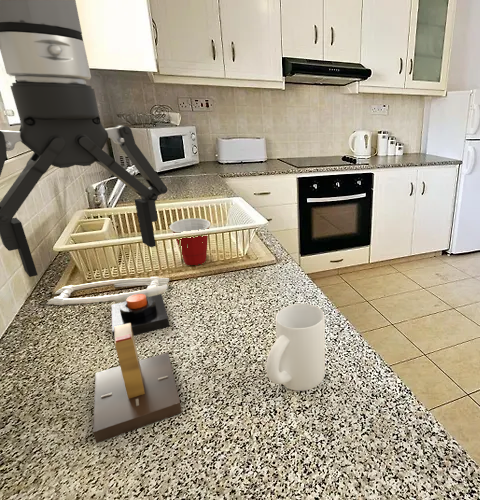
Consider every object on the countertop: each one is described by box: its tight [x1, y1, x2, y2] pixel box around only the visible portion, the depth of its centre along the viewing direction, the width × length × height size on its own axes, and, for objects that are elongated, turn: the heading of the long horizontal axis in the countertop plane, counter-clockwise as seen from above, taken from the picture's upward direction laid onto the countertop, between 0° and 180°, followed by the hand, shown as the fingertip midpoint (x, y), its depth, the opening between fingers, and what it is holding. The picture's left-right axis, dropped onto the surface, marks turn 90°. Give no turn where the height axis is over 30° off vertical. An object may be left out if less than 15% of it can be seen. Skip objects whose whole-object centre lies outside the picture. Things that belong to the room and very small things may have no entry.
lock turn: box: [114, 323, 145, 399], centre depth 57 cm, size 5×2×10 cm, turn 31°
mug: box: [265, 303, 326, 392], centre depth 61 cm, size 8×12×12 cm
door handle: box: [46, 276, 170, 306], centre depth 89 cm, size 3×10×25 cm
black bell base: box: [110, 293, 171, 341], centre depth 80 cm, size 12×10×4 cm
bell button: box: [126, 294, 147, 309], centre depth 79 cm, size 4×4×2 cm
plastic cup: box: [168, 217, 212, 266], centre depth 107 cm, size 11×11×12 cm
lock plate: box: [92, 352, 183, 444], centre depth 59 cm, size 14×11×2 cm
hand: (96, 257), depth 49 cm, fingers open, 13 cm apart
